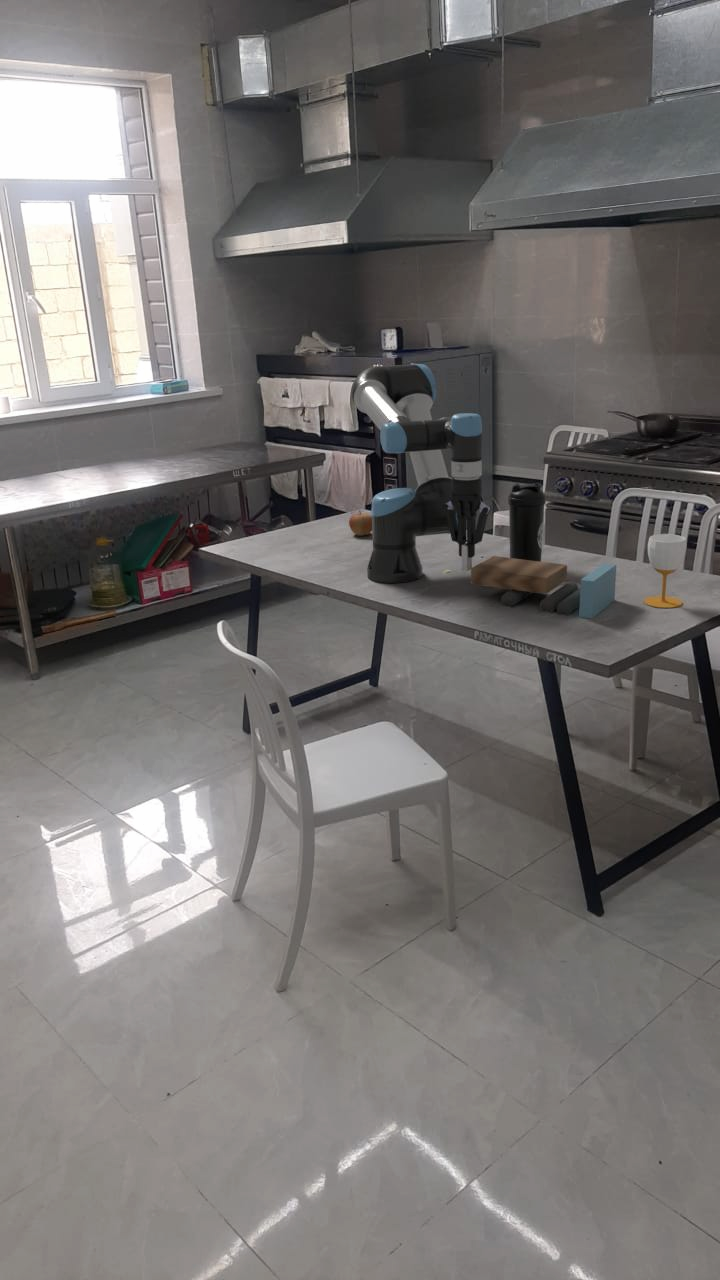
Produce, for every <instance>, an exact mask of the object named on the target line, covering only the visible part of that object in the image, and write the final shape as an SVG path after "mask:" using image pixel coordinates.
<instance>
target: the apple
mask: <svg viewBox="0 0 720 1280" xmlns="http://www.w3.org/2000/svg"><path fill="white" fill-rule="evenodd" d="M358 512H359V513H355V514H352V515H351V516H350V518H349V521H348V525H349V527H350V531H351V532H352V533H353V534H354V535H356V536H358V537H362V536H367V535H369V534H371V533H372V515H371V514H369V513H367V512H366V513H365V512H363V513H362V512H361V510H359V511H358Z"/></svg>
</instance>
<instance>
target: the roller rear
mask: <svg viewBox="0 0 720 1280" xmlns="http://www.w3.org/2000/svg"><path fill="white" fill-rule="evenodd" d="M533 593H534V592H527V591H520V590H513V589H509V590H508V591H507V592H506V593H504V594H503V595H502V596H501V598H500V599H501V601H500V602H501V603H502V605H503V606H504V607H509V608H510V607H513V606H515V605H516V604H518V603H519V602H520V601H523V600H524V599H526V598H527V597H528V596H530V595H531V594H533Z"/></svg>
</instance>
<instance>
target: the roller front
mask: <svg viewBox="0 0 720 1280" xmlns="http://www.w3.org/2000/svg"><path fill="white" fill-rule="evenodd" d="M578 608H580V587H578V589H577V590H576V591H575V592H573V593H572V594H571V595H569V596H568V597H566V598H565V599H564V600H562V601H561V602H559V603H558V605H557V608H556V611H557V612H558V614H559V615H562V616H563V615H565V616H568V615H570V614H571V613H572V612H573V611H575V610H576V609H578Z"/></svg>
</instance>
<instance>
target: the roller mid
mask: <svg viewBox="0 0 720 1280" xmlns="http://www.w3.org/2000/svg"><path fill="white" fill-rule="evenodd" d="M577 589H579V587H578V585H577V583H576V582H573V581H568V582H567V583H565V584H564V585H562V586H561V587H559V588H558V589H556V590H555V591H554V592H552V593H550V594H549V595H548V596H546V597H545V598H543V599H542V600H541V601H540V604H539V607H540V610H541V611H542V612H543V613H544V612H545V613H552V612H553V611H554V610H557V605H558V603H559V602H561V601H562V600H564V599H565V598H566V597H568V596H569V595H571V594H572V593H573V592H575V591H576V590H577Z"/></svg>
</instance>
